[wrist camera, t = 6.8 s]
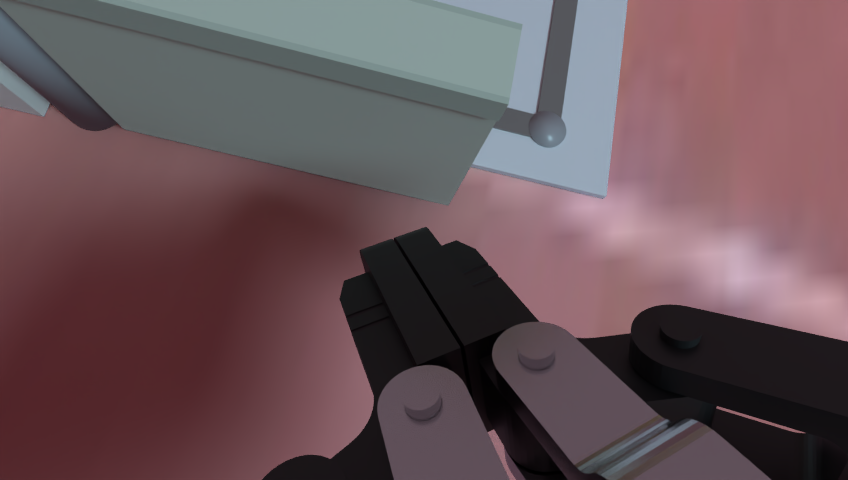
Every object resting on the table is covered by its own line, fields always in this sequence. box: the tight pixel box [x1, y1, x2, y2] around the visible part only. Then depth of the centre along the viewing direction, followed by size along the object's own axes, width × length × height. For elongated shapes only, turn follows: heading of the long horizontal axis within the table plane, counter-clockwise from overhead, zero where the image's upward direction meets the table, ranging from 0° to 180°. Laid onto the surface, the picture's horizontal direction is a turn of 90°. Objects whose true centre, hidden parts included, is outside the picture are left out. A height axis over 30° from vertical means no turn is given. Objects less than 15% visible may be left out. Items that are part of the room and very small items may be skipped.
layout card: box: [434, 0, 628, 199], centre depth 19 cm, size 10×10×1 cm
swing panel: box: [0, 0, 523, 205], centre depth 13 cm, size 11×2×7 cm, turn 79°
